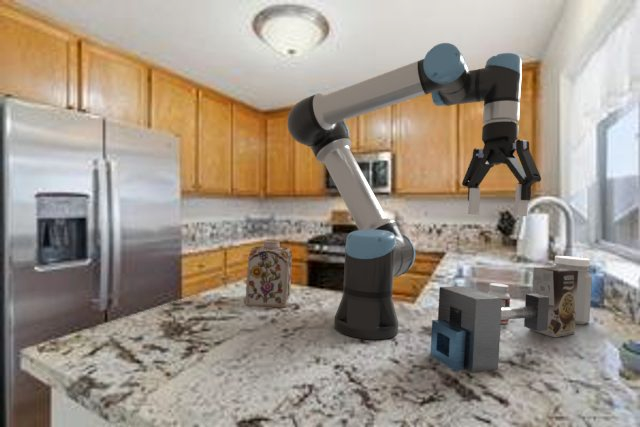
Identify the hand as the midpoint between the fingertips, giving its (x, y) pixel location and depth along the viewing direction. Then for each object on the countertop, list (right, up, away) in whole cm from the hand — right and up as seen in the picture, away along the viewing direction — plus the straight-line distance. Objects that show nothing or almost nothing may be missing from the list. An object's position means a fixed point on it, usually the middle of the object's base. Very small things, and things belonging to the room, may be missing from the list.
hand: (495, 215), depth 82 cm
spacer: (-17, -28, -15) cm, 36 cm away
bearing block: (-13, -28, -13) cm, 34 cm away
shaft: (-3, -24, -10) cm, 26 cm away
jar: (+31, -31, +19) cm, 47 cm away
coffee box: (+18, -30, +7) cm, 36 cm away
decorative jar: (-56, -26, +22) cm, 66 cm away
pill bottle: (+8, -29, +14) cm, 33 cm away
